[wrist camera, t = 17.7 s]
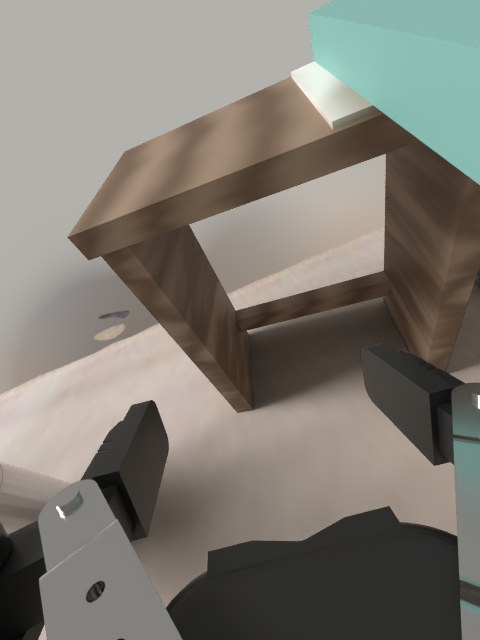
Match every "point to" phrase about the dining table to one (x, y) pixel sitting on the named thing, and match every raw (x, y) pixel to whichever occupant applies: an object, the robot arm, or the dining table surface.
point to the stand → (269, 178)
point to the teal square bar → (410, 66)
